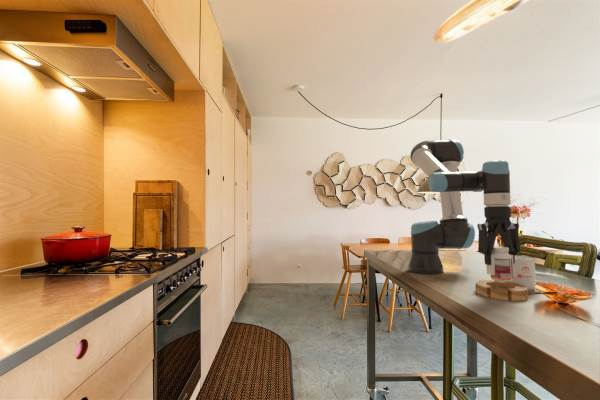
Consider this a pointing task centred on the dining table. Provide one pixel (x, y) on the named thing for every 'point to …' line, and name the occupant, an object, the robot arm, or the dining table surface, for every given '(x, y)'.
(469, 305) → the dining table surface
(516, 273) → the mug
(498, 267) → the pill bottle
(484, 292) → the wooden ring
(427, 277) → the dining table surface
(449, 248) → the robot arm
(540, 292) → the lace
